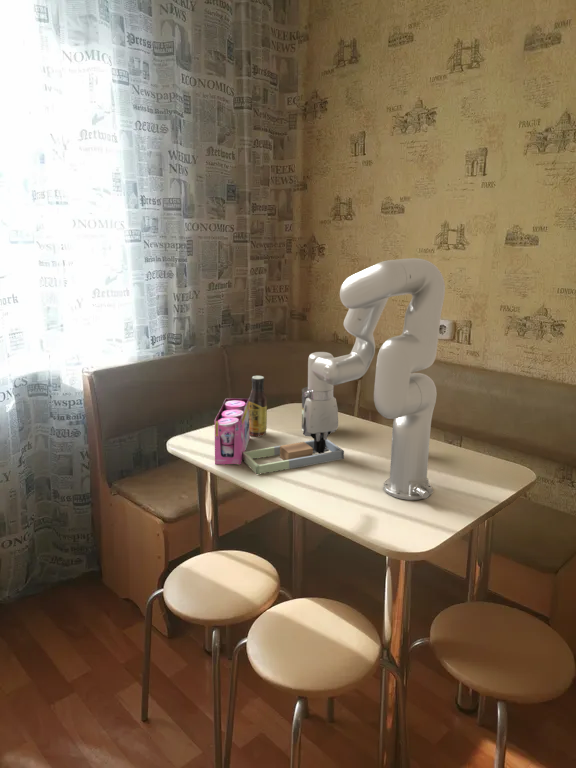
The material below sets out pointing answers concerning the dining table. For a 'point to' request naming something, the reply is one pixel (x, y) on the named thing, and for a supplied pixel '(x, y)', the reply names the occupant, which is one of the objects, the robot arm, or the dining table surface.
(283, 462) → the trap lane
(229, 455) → the gum box
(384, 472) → the dining table surface
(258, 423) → the sauce bottle
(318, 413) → the robot arm
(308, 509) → the dining table surface
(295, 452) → the tan block
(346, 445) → the dining table surface
